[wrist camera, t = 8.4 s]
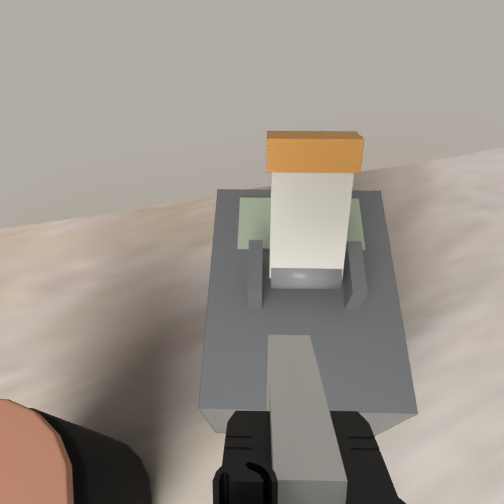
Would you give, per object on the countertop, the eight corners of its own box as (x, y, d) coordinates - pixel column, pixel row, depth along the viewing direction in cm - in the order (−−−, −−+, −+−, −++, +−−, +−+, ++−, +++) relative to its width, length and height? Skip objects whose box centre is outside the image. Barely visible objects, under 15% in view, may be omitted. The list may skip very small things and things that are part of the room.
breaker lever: (264, 294, 29) (267, 138, 24) (265, 277, 31) (267, 131, 26) (345, 296, 29) (364, 139, 24) (340, 278, 31) (356, 131, 26)
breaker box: (215, 432, 37) (191, 399, 24) (227, 257, 46) (214, 165, 33) (373, 436, 36) (435, 404, 24) (353, 259, 46) (390, 166, 33)
